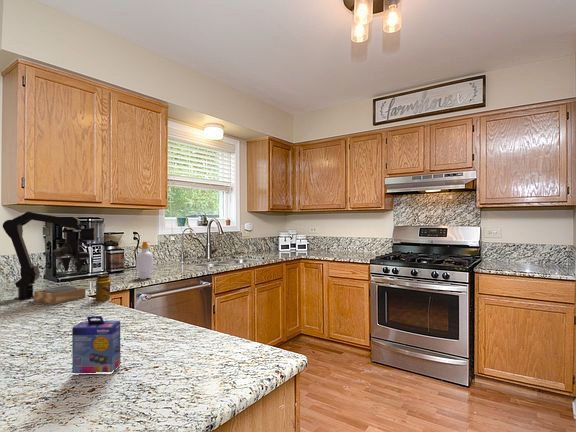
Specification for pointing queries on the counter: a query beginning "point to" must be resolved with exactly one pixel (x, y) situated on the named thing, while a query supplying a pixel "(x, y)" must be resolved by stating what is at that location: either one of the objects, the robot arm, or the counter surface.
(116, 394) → the counter surface
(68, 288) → the small crate
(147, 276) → the soap bottle
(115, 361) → the ink cartridge box
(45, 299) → the big crate
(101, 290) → the condiment
